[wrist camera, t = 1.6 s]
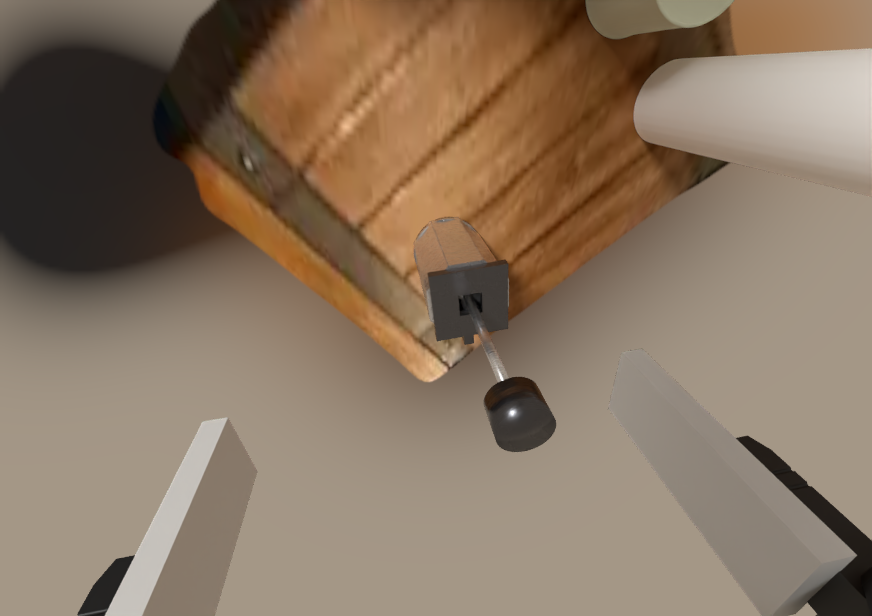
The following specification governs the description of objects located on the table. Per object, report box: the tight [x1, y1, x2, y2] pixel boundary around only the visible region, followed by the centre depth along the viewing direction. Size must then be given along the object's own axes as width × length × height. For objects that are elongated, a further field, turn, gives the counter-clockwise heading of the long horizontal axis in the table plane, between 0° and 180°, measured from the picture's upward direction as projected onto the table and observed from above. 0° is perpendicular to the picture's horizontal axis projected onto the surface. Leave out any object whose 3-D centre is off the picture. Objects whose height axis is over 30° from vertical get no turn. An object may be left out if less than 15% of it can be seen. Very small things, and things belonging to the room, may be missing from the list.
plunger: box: [458, 293, 556, 452], centre depth 34 cm, size 7×7×20 cm
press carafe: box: [414, 217, 509, 345], centre depth 47 cm, size 12×10×15 cm
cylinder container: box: [634, 48, 872, 197], centre depth 34 cm, size 9×9×30 cm
